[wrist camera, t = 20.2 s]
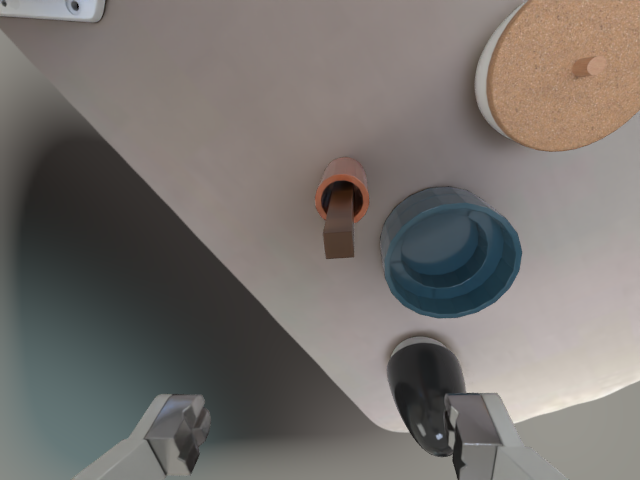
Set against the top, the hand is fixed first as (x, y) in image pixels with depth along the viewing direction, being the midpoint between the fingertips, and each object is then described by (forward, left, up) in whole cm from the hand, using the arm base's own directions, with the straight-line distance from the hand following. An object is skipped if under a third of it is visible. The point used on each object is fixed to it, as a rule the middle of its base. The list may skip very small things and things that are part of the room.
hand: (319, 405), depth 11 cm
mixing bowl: (+11, -9, -31) cm, 34 cm away
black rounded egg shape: (+9, -28, -31) cm, 43 cm away
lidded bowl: (+19, +9, -31) cm, 38 cm away
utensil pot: (0, 0, -31) cm, 31 cm away
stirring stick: (0, 0, -30) cm, 31 cm away
